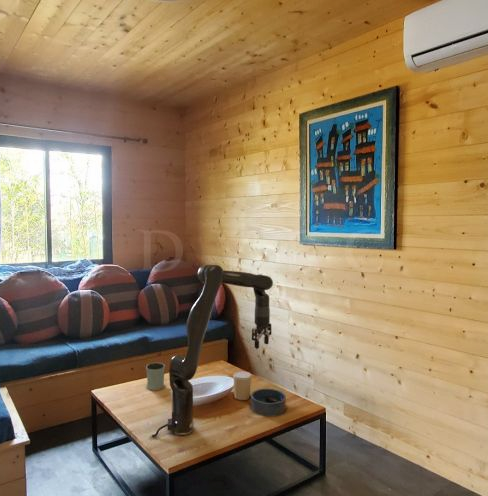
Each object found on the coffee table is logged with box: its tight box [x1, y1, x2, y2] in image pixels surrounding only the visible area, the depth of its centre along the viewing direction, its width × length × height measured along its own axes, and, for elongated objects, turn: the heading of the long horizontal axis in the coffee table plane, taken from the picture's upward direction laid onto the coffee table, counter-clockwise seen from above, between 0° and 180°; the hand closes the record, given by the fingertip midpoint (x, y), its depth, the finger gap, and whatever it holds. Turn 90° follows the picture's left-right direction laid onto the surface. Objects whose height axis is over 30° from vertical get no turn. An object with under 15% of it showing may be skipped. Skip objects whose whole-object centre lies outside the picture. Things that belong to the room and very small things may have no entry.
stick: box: [265, 396, 280, 403], centre depth 211 cm, size 9×2×2 cm, turn 51°
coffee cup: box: [232, 370, 252, 401], centre depth 219 cm, size 9×9×12 cm
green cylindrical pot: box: [145, 361, 166, 391], centre depth 230 cm, size 10×10×12 cm
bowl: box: [250, 388, 287, 417], centre depth 208 cm, size 17×17×6 cm
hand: (261, 346), depth 214 cm, fingers open, 8 cm apart
